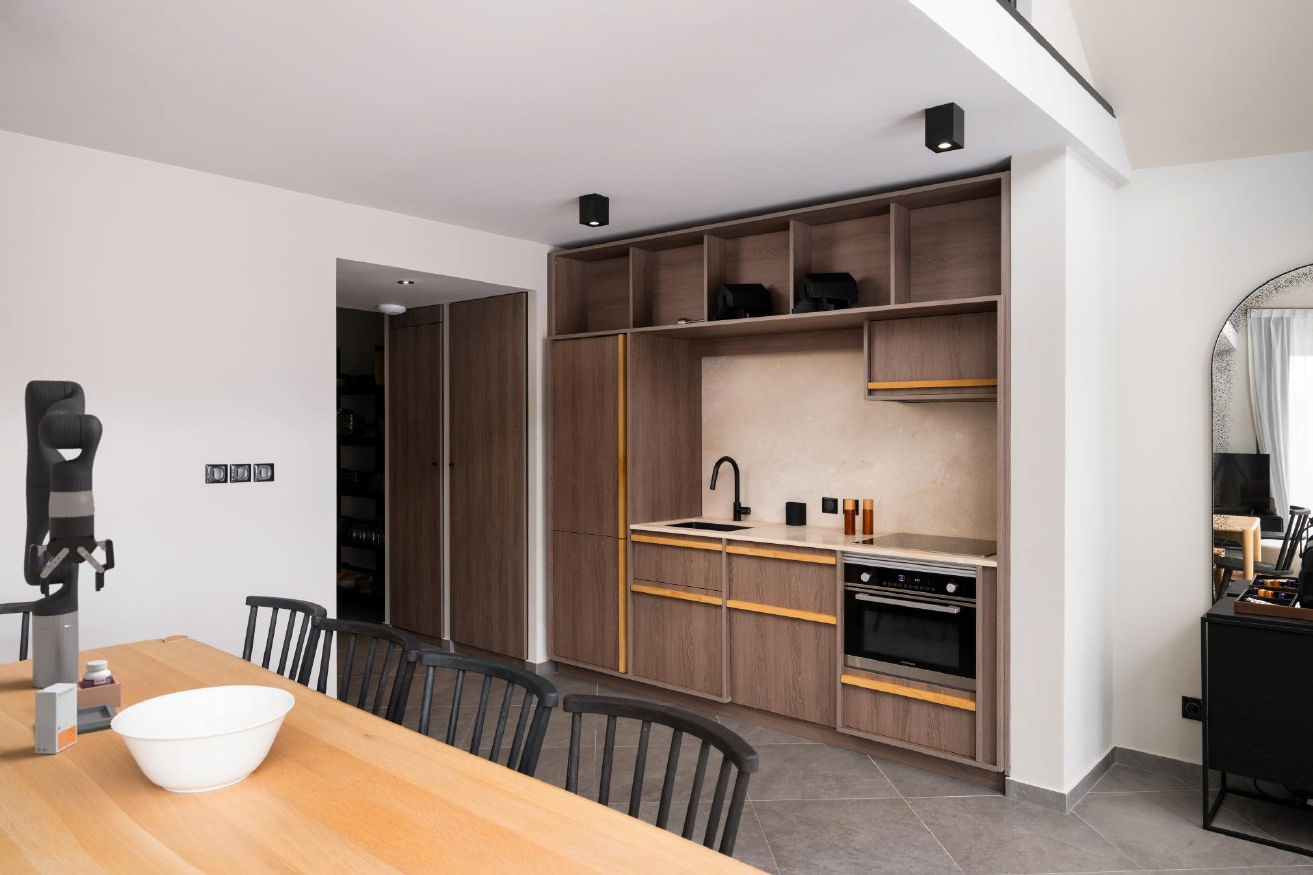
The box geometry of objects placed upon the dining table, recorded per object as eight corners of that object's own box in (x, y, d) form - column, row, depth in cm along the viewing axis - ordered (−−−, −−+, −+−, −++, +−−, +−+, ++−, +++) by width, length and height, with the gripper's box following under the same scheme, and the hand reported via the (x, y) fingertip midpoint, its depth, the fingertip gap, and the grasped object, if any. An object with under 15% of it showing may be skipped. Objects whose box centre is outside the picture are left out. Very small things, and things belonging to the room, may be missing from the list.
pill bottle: (97, 709, 189) (96, 666, 189) (76, 707, 190) (76, 664, 190) (117, 701, 194) (116, 659, 194) (97, 700, 195) (96, 658, 195)
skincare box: (56, 754, 164) (55, 692, 164) (34, 754, 164) (33, 692, 164) (78, 742, 170) (77, 682, 170) (57, 742, 170) (56, 682, 170)
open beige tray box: (73, 703, 193) (73, 681, 193) (115, 696, 198) (115, 675, 198) (77, 713, 187) (76, 690, 186) (120, 705, 192) (120, 683, 191)
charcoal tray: (44, 723, 180) (44, 713, 180) (111, 711, 188) (111, 702, 188) (48, 740, 171) (48, 730, 171) (118, 726, 179) (118, 717, 179)
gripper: (111, 509, 179) (111, 586, 180) (27, 513, 171) (27, 594, 171) (115, 512, 174) (116, 592, 174) (28, 517, 165) (29, 601, 165)
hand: (72, 593), depth 172 cm, fingers open, 8 cm apart
